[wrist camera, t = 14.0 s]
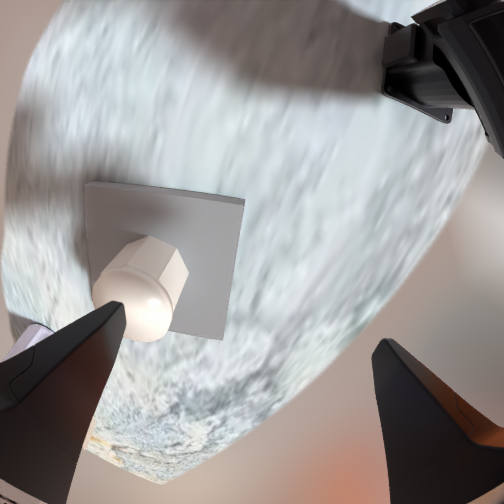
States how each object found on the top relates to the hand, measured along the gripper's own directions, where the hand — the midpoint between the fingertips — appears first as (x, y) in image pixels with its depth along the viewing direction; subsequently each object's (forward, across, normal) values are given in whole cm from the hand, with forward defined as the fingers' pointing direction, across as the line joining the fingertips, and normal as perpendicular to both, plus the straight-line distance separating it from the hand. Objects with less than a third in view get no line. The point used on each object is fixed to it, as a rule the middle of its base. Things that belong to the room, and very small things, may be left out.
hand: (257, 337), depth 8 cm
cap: (+10, +7, +5) cm, 14 cm away
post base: (+12, +7, +5) cm, 15 cm away
